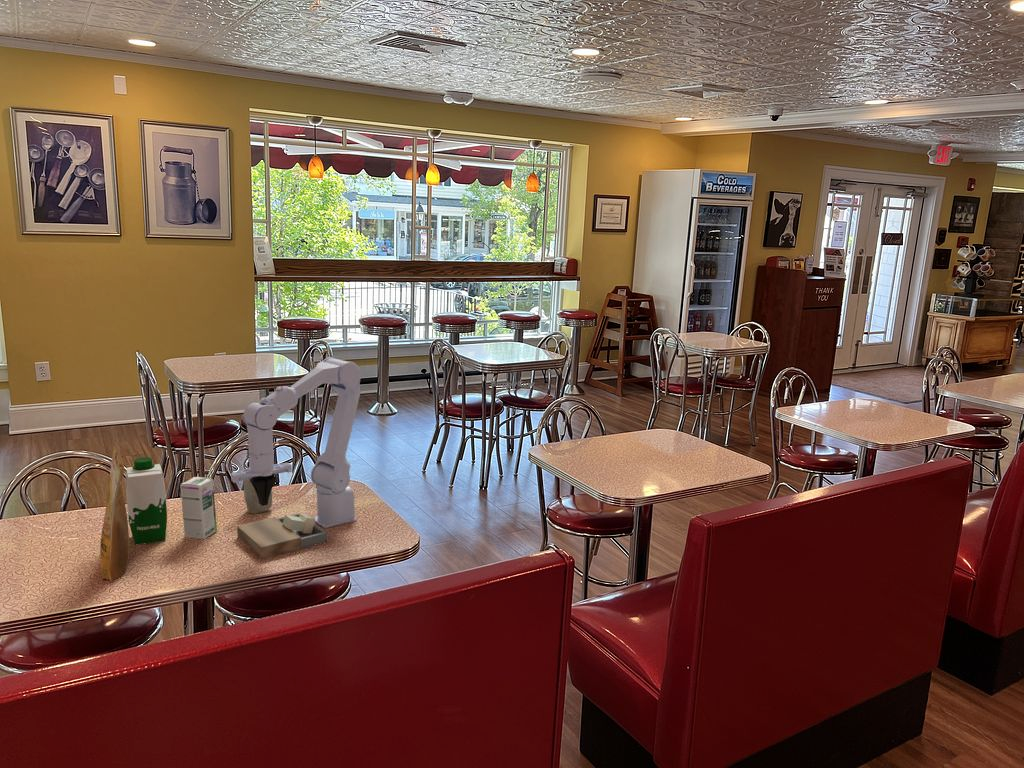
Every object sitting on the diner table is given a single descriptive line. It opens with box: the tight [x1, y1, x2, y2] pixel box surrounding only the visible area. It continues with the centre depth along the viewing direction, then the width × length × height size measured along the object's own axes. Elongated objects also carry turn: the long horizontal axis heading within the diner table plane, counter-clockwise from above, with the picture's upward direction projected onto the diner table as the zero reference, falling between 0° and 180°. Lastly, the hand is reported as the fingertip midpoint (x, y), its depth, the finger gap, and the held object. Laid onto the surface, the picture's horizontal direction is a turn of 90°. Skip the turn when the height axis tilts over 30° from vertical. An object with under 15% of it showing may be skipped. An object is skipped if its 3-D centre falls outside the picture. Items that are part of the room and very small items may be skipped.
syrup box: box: [179, 476, 218, 540], centre depth 196 cm, size 6×6×14 cm
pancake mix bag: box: [99, 441, 130, 583], centre depth 176 cm, size 7×19×28 cm, turn 23°
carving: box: [243, 479, 274, 514], centre depth 213 cm, size 6×8×12 cm
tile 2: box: [299, 512, 316, 533], centre depth 200 cm, size 4×4×2 cm
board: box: [236, 516, 301, 560], centre depth 194 cm, size 10×16×3 cm, turn 39°
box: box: [276, 512, 328, 549], centre depth 199 cm, size 7×16×2 cm, turn 39°
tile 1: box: [282, 514, 306, 531], centre depth 197 cm, size 4×4×2 cm
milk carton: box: [125, 457, 168, 546], centre depth 193 cm, size 9×9×20 cm
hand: (263, 504), depth 191 cm, fingers closed
